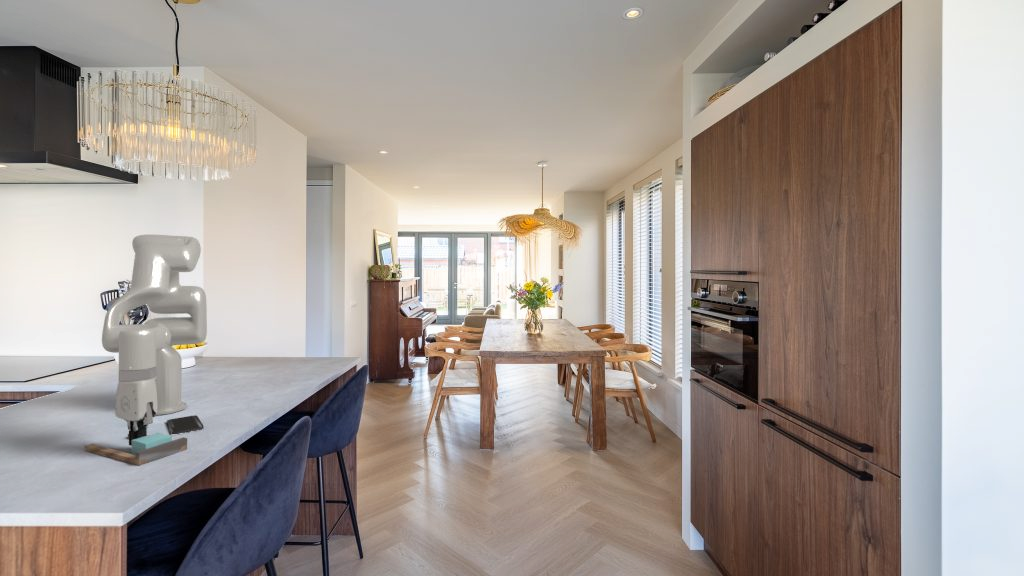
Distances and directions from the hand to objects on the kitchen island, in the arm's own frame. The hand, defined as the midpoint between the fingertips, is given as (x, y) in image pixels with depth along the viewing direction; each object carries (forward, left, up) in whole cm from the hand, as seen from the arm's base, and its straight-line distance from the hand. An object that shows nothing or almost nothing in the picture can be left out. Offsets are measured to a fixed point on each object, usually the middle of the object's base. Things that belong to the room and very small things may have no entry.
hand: (137, 443), depth 115 cm
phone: (-9, +17, -2) cm, 19 cm away
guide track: (-1, 0, -2) cm, 2 cm away
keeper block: (+5, +1, -2) cm, 5 cm away
